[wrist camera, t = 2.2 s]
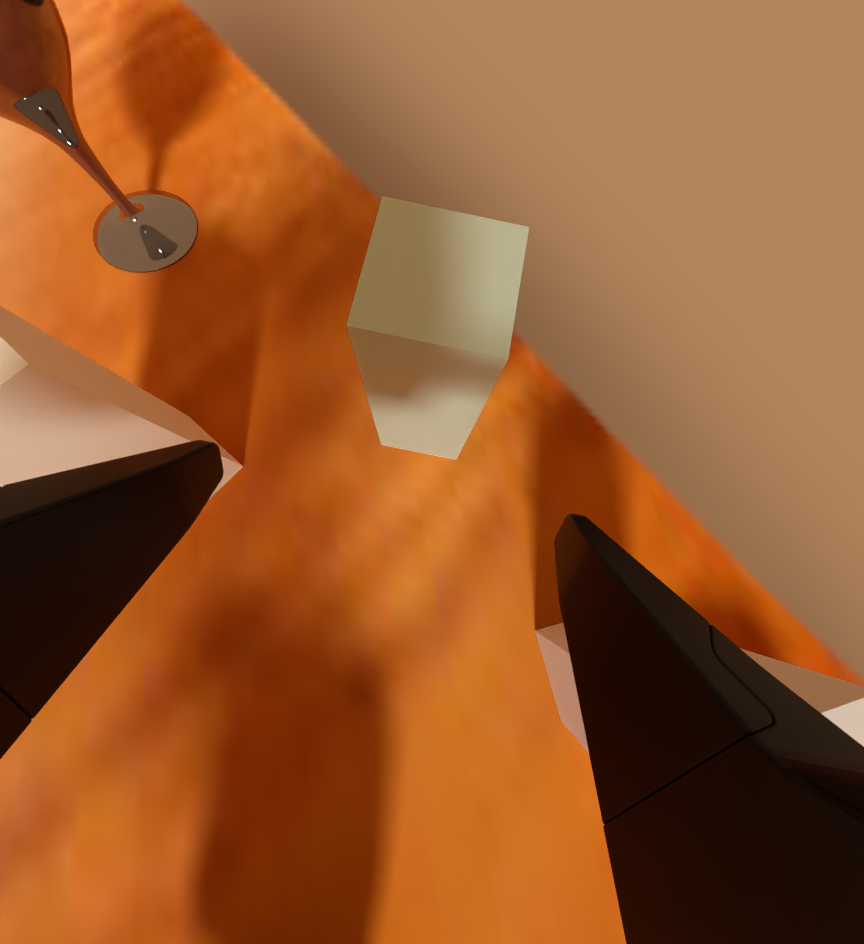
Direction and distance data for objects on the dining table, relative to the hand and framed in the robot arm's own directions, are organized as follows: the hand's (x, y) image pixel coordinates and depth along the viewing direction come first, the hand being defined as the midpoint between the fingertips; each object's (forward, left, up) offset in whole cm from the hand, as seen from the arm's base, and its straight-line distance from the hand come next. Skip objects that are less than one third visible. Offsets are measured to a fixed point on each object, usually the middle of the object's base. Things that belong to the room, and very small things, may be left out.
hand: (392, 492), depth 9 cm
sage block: (+5, +6, -13) cm, 15 cm away
